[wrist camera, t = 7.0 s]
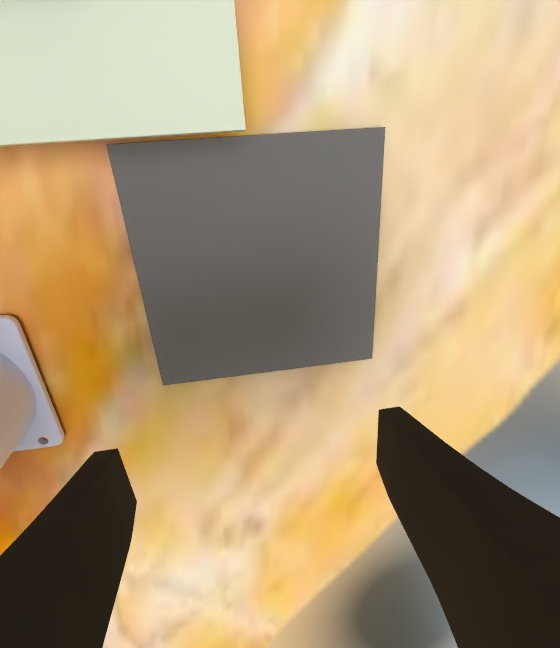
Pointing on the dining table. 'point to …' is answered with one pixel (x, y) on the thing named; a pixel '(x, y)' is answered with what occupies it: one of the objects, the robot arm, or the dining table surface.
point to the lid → (117, 70)
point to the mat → (254, 248)
